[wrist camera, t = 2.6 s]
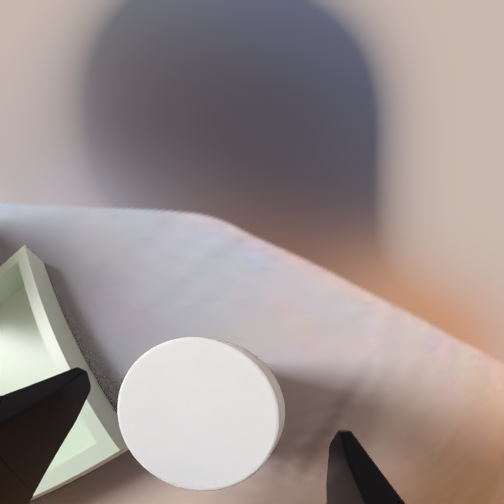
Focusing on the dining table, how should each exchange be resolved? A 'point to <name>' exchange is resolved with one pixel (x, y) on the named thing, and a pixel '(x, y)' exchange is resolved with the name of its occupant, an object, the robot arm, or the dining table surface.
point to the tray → (51, 367)
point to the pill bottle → (200, 413)
